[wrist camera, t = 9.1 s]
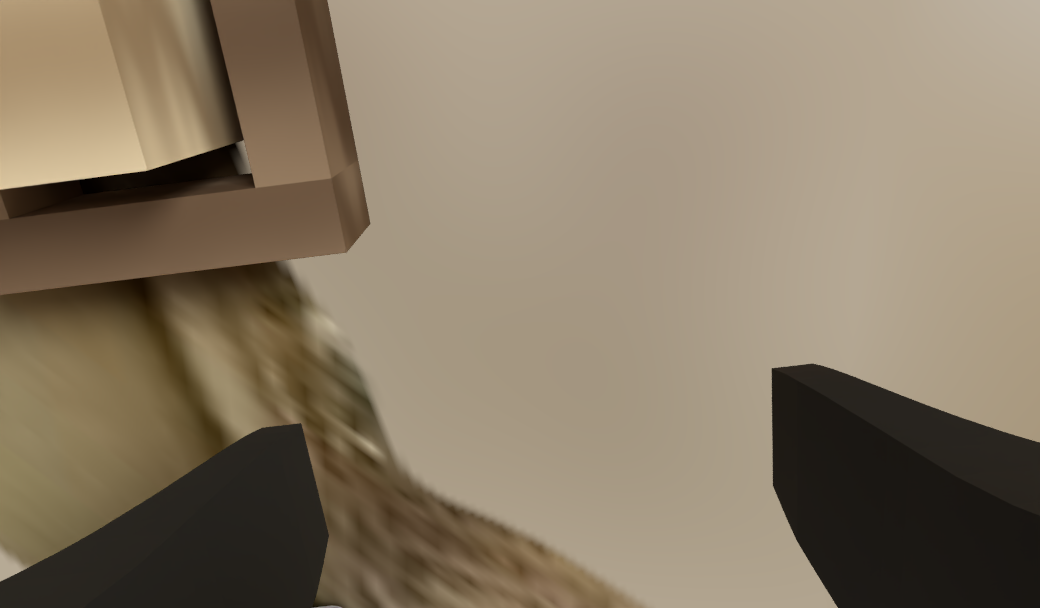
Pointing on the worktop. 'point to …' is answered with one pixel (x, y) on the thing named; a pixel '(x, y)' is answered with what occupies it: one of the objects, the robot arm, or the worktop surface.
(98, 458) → the worktop surface
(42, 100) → the oak block
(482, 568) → the worktop surface
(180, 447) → the worktop surface
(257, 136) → the brown square frame
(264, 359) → the worktop surface
